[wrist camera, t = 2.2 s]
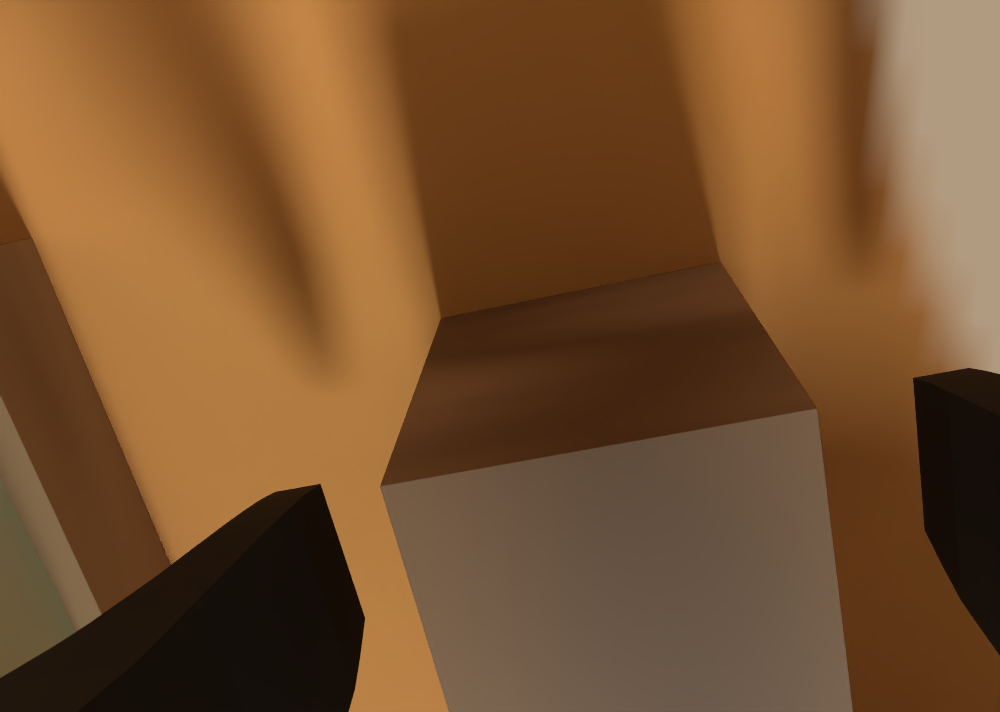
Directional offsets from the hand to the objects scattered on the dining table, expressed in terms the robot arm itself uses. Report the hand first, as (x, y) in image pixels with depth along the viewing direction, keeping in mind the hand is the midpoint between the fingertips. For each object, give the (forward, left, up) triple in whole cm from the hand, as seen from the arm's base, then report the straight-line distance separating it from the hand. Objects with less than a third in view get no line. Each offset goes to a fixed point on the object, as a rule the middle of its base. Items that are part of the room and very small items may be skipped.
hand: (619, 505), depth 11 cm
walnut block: (0, 0, -3) cm, 3 cm away
